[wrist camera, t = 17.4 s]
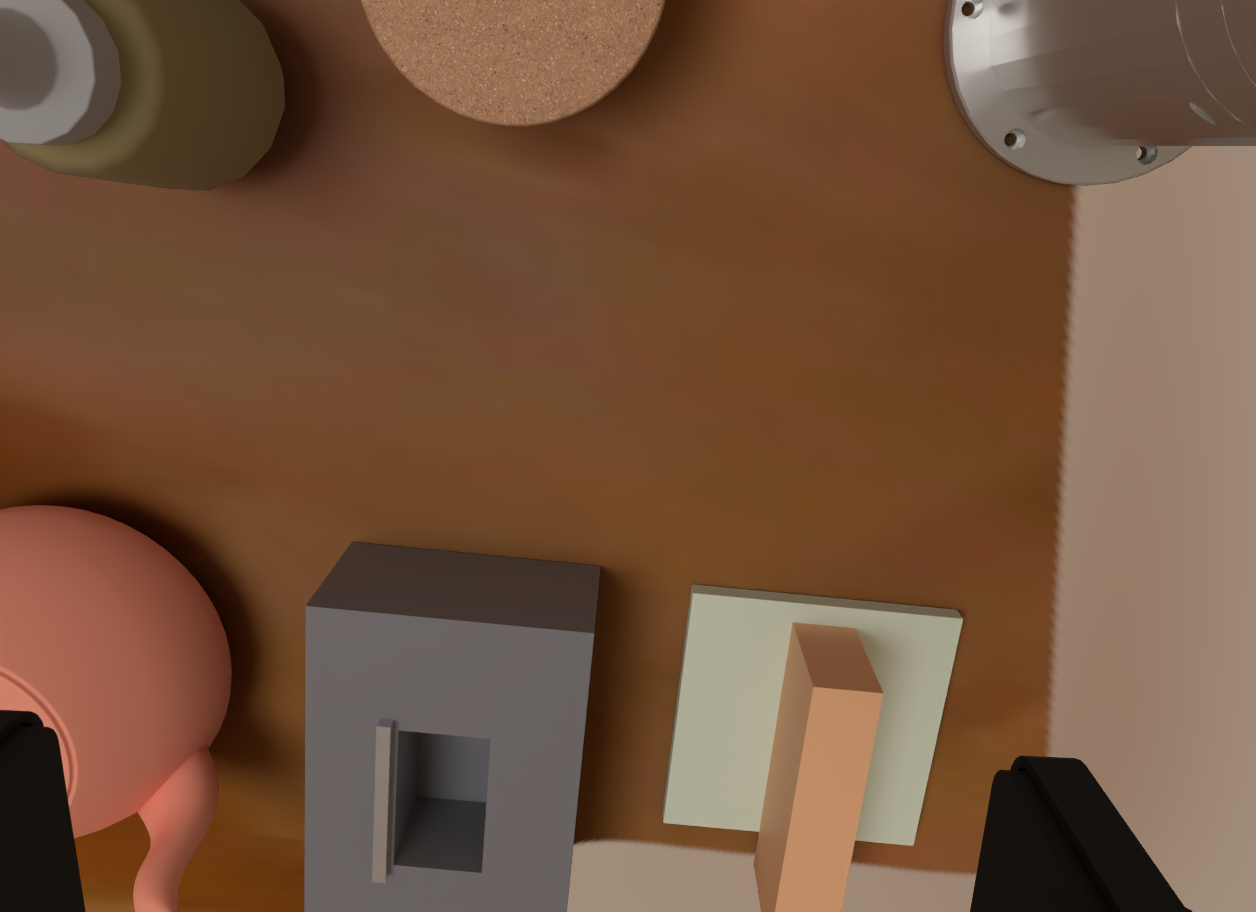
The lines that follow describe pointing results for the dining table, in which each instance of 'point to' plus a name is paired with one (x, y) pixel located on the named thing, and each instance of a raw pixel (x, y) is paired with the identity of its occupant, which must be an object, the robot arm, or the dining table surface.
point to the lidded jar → (514, 52)
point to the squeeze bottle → (139, 89)
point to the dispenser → (444, 730)
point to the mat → (750, 696)
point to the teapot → (116, 677)
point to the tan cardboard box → (817, 771)
